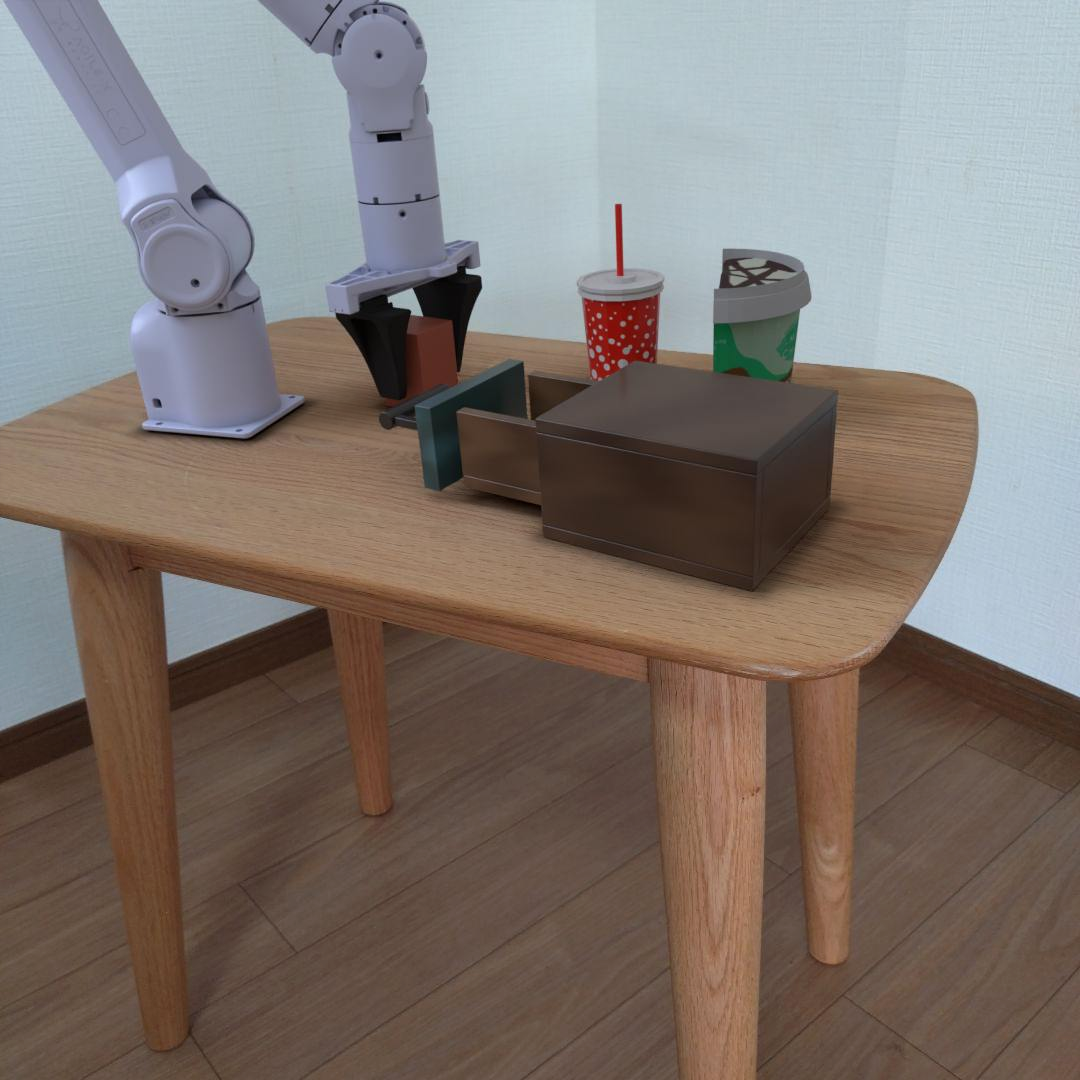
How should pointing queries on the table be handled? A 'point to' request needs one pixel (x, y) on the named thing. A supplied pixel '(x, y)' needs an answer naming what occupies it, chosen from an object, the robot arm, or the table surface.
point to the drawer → (484, 428)
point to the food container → (758, 313)
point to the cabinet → (688, 469)
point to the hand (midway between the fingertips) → (421, 383)
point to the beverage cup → (620, 313)
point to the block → (428, 356)
